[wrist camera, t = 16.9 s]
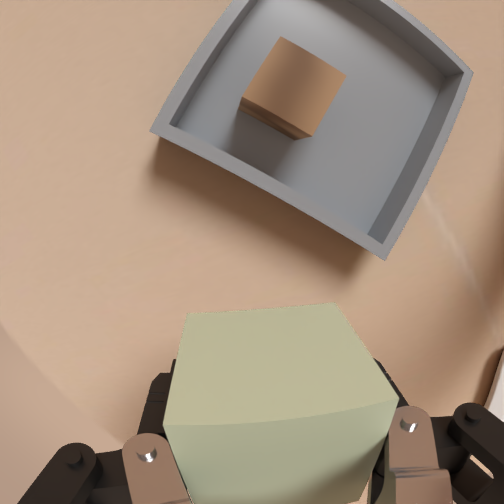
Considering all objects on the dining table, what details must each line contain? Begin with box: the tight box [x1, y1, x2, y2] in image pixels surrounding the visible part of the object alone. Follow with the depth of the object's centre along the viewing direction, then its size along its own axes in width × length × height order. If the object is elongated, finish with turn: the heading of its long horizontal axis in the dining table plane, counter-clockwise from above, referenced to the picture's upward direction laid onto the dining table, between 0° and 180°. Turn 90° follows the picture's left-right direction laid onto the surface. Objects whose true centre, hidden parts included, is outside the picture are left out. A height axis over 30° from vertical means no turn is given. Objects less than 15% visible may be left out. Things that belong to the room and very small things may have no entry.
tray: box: [150, 0, 474, 261], centre depth 21 cm, size 20×20×4 cm
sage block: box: [163, 302, 399, 504], centre depth 9 cm, size 5×5×5 cm
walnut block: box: [238, 36, 346, 141], centre depth 20 cm, size 5×5×5 cm
